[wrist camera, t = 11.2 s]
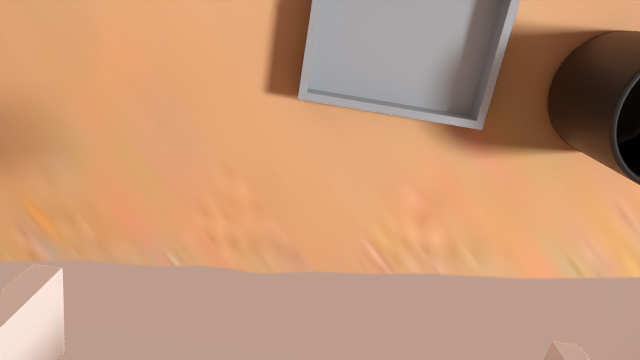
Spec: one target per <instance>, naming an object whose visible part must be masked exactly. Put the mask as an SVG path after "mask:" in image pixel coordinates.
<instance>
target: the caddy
mask: <svg viewBox="0 0 640 360" xmlns="http://www.w3.org/2000/svg"><path fill="white" fill-rule="evenodd" d="M519 2H520V0H312V6H311V13H310V20H309V26H308V33H307V40H306V47H305V53H304V60H303V67H302V73H301V80H300V87H299V94H298V99H300V100H305V101H311V102H317V103H323V104H329V105H335V106H341V107H347V108H353V109H359V110H365V111H371V112H377V113H383V114H389V115H395V116H401V117H407V118H413V119H419V120H425V121H431V122H437V123H443V124H449V125H455V126H461V127H467V128H473V129H479V130H482V129H483V126H484V123H485V119H486V116H487V112H488V109H489V105H490V102H491V99H492V95H493V92H494V88H495V85H496V81H497V78H498V74H499V71H500V68H501V64H502V61H503V57H504V54H505V50H506V47H507V44H508V40H509V37H510V33H511V30H512V26H513V23H514V20H515V16H516V13H517V9H518V6H519Z"/></svg>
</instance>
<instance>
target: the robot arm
mask: <svg viewBox="0 0 640 360" xmlns="http://www.w3.org/2000/svg"><path fill="white" fill-rule="evenodd" d="M64 353H65V342H64V308H63V274H62V267H56V266H50V265H43V264H36V263H32V264H31V265H30V266H28V267H27V268H26V269H25V270H24V271H23V272H21V273H20V274H19V275H18V276H17V277H16V278H14V279H13V280H12V281H11V282H10V283H9V284H8V285H6V286H5V287H4V288H3V289H2V290H0V360H59V359H60V358H61V357H62V356H63V354H64ZM544 360H590V358H589V357H588V356H587V354H586V353H585V352H584V351H583V349H582V348H581V346H580V345H577V344H571V343H564V342H557V341H552V342H551V344H550V347H549V349H548V352H547V354H546V357H545V359H544Z"/></svg>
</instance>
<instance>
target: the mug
mask: <svg viewBox="0 0 640 360" xmlns="http://www.w3.org/2000/svg"><path fill="white" fill-rule="evenodd" d="M549 114H550V118H551V122H552V125H553V126H554V128H555V130H556V132H557V133H558V135H559V136H560V137H561V138H562V139H563V140H564V141H565V142H566V143H567V144H569V145H570V146H572V147H574V148H575V149H577V150H579V151H581V152H582V153H584V154H586V155H588V156H590V157H591V158H593V159H595V160H597V161H598V162H600V163H602V164H604V165H605V166H607V167H609V168H611V169H612V170H614V171H616V172H618V173H620V174H621V175H623V176H625V177H627V178H628V179H630V180H632V181H634V182H635V183H637V184H639V185H640V32H638V31H615V32H610V33H606V34H602V35H600V36H597V37H595V38H593V39H591V40H589V41H587V42H586V43H584V44H583V45H581V46H580V47H579V48H577V49H576V50H575V51H574V52H573V53H572V54H571V55H570V56H569V57H568V58H567V59H566V60H565V61H564V63H563V64H562V65H561V67H560V68H559V70H558V72H557V73H556V75H555V77H554V80H553V82H552V85H551V89H550V93H549Z"/></svg>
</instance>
